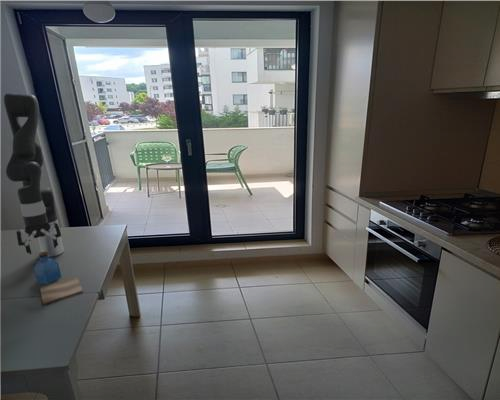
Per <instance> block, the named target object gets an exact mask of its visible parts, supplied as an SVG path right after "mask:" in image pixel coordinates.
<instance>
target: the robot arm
mask: <svg viewBox="0 0 500 400" xmlns="http://www.w3.org/2000/svg"><path fill="white" fill-rule="evenodd" d="M3 103H4V106H5V107H4V108H5V112H6V114H7V119H8V122H9V126H10V129H11V132H12V138H13V139H12V153H11V156H10V159H9V161H8V162H7V165H6V170H5V173H6V174H5V175H6V177H7V178H8V179H9V180H10V181H12V182H22V187H20V188H18V189H17V195H18V199H19V203H20V210H21V215H22V219H23V223H24V229H17V230H16V233H15V234H16V238H17V243H18V244H17V245H18V246H20V247H21V246H24V248H25V251H26V253H27V254H29V255H31V254H32V249H31V246H30V243H31V241H32V240H33V239H38V243H39V246H40V251H41V252H48V254H49V258H53V257H56V256H59V255H61V254H63V253H64V252H65V248H64V243H63V238H62V233H61V228H60V225H59V221H58V215H57V210H56V203H55V197H54V193H53V190H52V189H51V188H50V187H48V186H47V187H41V178H42V168H43V164H44V156H43V150H42V146H41V145H40V144H39V143H38V141H36V135H37V129H38V124H39V117H40V106H39V101H38V99H37V97H36V96H35V95H33V94H28V93H27V94H26V93H25V94H23V93H8V92H7V93H5V94H4V96H3ZM20 118H27V120H26V121H25V122H24V124H22V123H21V120H20ZM25 233H26V234H27V236H26V239H25V240H23V239H22V236H23V235H24V234H25ZM41 252H40V253H41Z"/></svg>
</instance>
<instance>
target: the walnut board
mask: <svg viewBox="0 0 500 400" xmlns="http://www.w3.org/2000/svg"><path fill="white" fill-rule="evenodd" d="M39 289H40V295H41V300H42V305H43V306H45V305H49V304H52V303H55V302H58V301H61V300H64V299H66V298H67V299H68V298H70V297H74V296H76V295H79V294H82V293H84V290H83V287H82V284H81V282H80V280H79V278H78V276H75V277H71V278H68V279H67V278H66V279H63V280H61V281H57V282H54V283H51V284H50V283H49V284H46V285H43V286H41V287H39Z"/></svg>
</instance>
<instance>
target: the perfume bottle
mask: <svg viewBox="0 0 500 400" xmlns="http://www.w3.org/2000/svg"><path fill="white" fill-rule="evenodd" d="M38 259H39V260H38V261H36V262H35V265H34V266H33V271H34V276H35V279H36V282H37V283H42V284H45V285H50V282H51V283H52V282H54V281H56V280H57V279H60V278H61V277H62V274H61V269H60V265H59V263H58V262H57V261H56V260H55V259H54V258H51V257H49V254H48V252H40V253H38Z"/></svg>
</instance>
